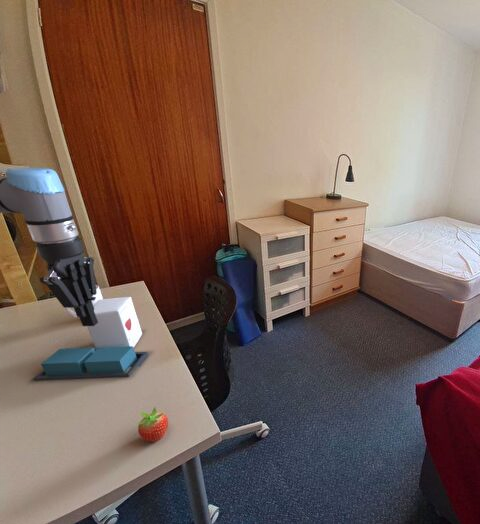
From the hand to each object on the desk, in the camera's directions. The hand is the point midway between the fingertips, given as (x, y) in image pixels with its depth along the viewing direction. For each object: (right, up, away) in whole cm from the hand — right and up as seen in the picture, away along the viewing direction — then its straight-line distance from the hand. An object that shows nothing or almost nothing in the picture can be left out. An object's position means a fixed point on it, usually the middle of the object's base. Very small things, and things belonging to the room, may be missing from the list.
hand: (90, 324), depth 73 cm
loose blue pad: (0, -14, +7) cm, 16 cm away
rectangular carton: (-5, -10, +17) cm, 20 cm away
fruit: (+25, -23, -11) cm, 36 cm away
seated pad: (-10, -14, +6) cm, 18 cm away
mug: (-26, -5, +28) cm, 38 cm away
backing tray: (-4, -14, +7) cm, 17 cm away
